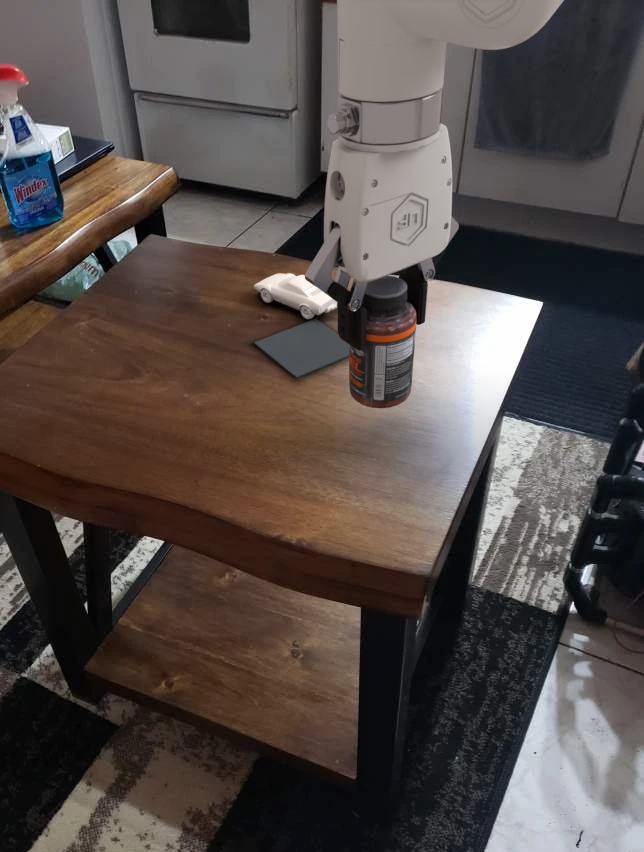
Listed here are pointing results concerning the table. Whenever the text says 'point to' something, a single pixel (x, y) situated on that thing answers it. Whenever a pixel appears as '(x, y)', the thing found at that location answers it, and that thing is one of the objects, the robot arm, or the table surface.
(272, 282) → the toy car
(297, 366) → the mat
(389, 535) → the table surface
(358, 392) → the supplement bottle
